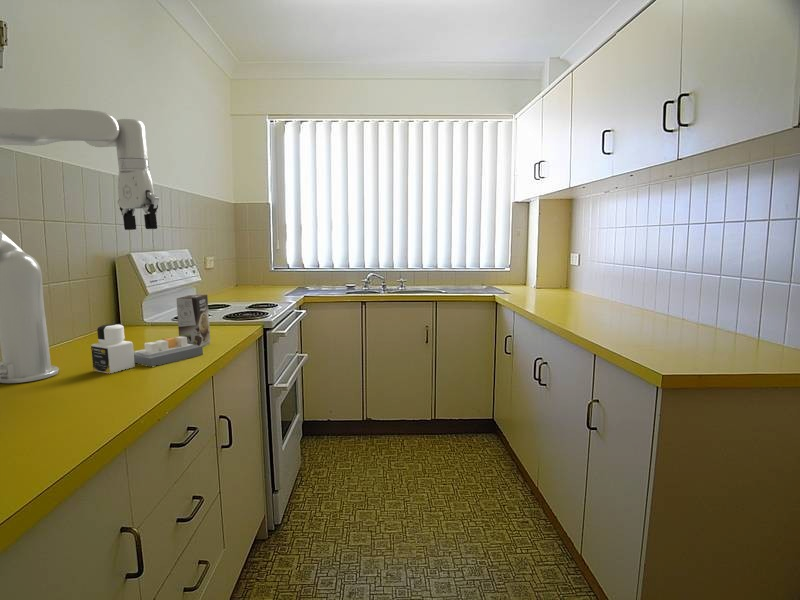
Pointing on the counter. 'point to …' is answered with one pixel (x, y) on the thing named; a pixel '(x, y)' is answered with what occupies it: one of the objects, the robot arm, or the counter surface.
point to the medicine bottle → (112, 350)
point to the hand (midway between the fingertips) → (140, 229)
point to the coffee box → (194, 319)
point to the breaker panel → (166, 351)
